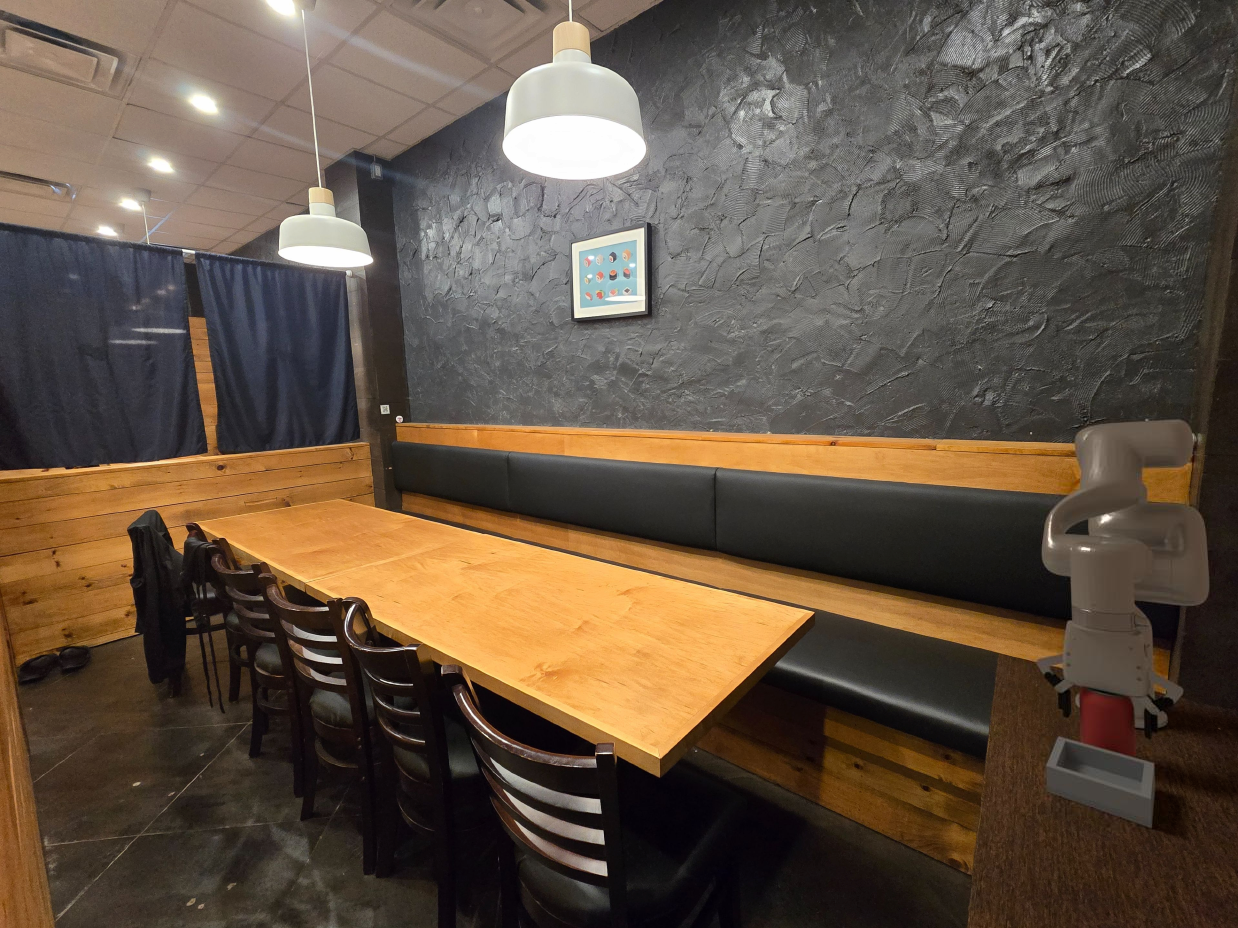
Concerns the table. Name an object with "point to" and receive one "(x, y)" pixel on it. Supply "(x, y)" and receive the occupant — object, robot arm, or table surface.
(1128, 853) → the table surface
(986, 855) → the table surface
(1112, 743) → the beer can
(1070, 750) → the tray
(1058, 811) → the table surface
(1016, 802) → the table surface
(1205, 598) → the robot arm
